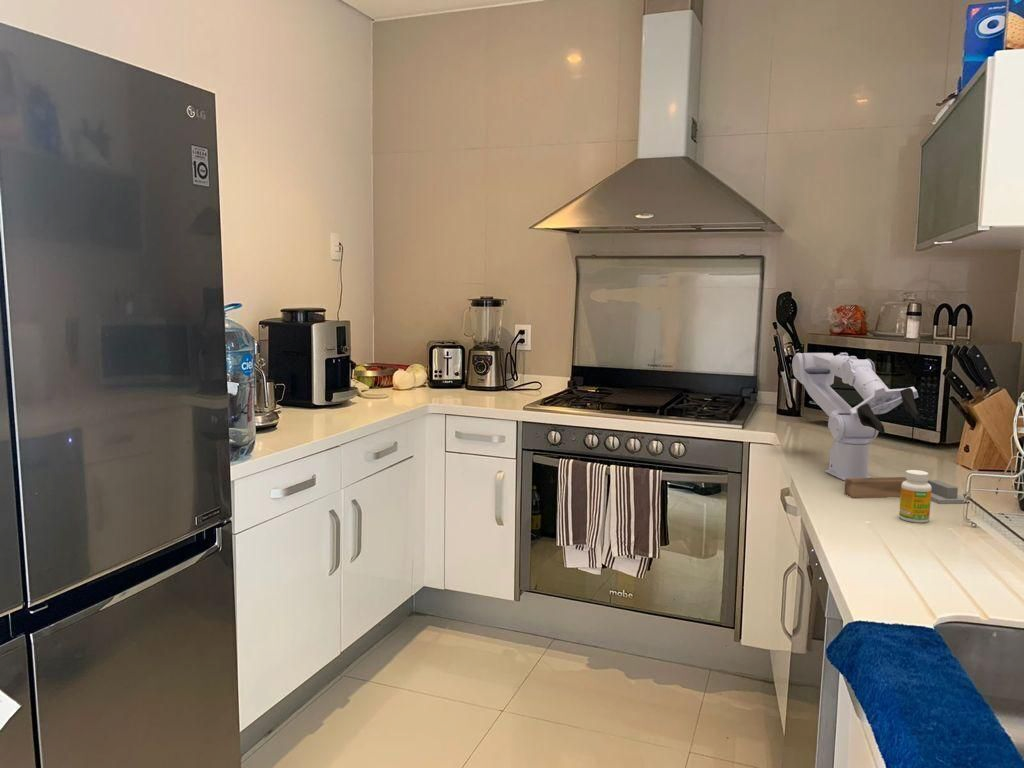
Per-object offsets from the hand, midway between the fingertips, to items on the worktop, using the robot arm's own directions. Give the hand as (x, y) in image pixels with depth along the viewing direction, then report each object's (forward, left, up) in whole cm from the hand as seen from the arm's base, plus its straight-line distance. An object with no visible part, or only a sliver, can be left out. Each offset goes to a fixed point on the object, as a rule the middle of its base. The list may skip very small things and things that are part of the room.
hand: (900, 423), depth 169 cm
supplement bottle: (+15, -5, -17) cm, 23 cm away
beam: (-3, -2, -17) cm, 18 cm away
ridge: (0, +11, -17) cm, 20 cm away
